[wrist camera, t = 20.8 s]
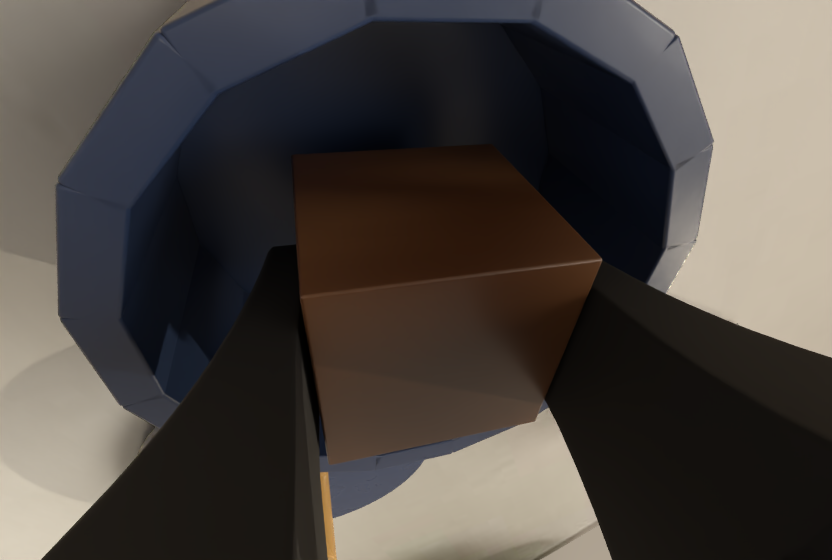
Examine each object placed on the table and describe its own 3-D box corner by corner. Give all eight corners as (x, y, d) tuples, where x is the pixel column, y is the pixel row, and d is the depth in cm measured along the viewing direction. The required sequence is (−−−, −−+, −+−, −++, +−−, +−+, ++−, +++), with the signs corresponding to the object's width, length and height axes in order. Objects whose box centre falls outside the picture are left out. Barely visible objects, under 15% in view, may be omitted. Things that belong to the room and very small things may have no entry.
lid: (190, 532, 22) (173, 655, 19) (81, 390, 14) (12, 558, 11) (419, 478, 25) (444, 576, 21) (436, 334, 17) (482, 452, 13)
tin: (215, 351, 15) (192, 512, 11) (42, -92, 7) (-244, -106, 3) (519, 306, 17) (592, 422, 13) (622, -56, 10) (860, -39, 6)
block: (313, 310, 11) (328, 466, 8) (290, 153, 8) (298, 297, 5) (467, 289, 12) (535, 421, 9) (492, 142, 9) (604, 259, 6)
